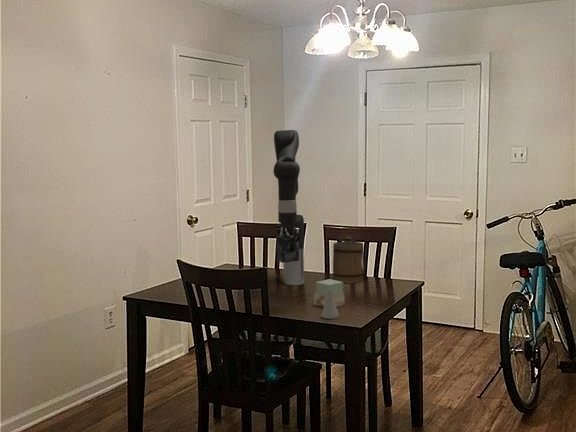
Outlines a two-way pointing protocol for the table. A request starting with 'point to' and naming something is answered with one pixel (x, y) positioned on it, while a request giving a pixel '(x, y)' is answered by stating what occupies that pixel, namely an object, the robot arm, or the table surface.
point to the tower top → (329, 287)
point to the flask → (330, 307)
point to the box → (286, 250)
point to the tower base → (321, 300)
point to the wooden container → (348, 261)
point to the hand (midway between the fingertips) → (288, 251)
